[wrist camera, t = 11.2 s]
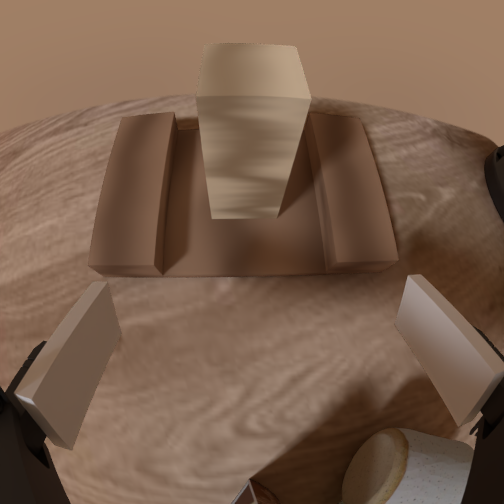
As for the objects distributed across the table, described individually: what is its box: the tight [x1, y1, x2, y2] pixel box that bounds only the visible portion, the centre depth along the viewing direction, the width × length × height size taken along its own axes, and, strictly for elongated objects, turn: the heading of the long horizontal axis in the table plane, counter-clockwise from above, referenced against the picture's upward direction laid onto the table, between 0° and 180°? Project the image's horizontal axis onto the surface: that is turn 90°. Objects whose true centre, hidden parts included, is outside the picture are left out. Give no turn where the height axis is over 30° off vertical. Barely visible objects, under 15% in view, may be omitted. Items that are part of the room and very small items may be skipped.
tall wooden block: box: [196, 43, 311, 219], centre depth 18 cm, size 5×5×12 cm
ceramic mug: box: [338, 428, 474, 504], centre depth 12 cm, size 11×8×8 cm
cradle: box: [88, 112, 399, 277], centre depth 22 cm, size 22×14×3 cm, turn 92°
